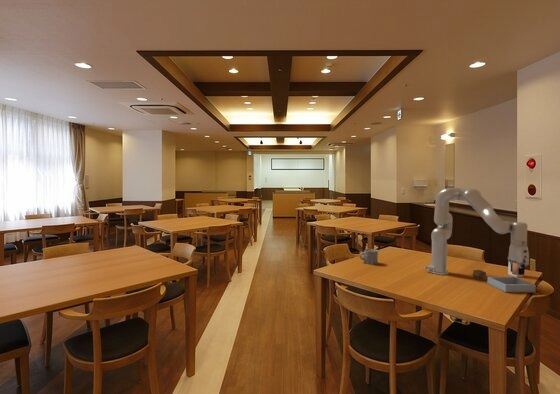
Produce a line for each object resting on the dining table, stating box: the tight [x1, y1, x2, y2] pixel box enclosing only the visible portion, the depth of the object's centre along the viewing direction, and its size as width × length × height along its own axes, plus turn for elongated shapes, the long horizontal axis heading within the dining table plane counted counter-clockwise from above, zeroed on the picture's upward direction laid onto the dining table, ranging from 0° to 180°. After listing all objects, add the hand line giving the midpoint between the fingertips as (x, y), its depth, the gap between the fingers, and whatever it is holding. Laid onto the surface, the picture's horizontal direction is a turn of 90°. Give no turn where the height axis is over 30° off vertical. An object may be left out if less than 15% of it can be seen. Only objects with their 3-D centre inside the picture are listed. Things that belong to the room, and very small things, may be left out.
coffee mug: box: [359, 248, 379, 266], centre depth 233 cm, size 13×10×10 cm
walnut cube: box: [472, 269, 487, 281], centre depth 197 cm, size 5×5×5 cm
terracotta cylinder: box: [512, 262, 524, 277], centre depth 179 cm, size 5×5×7 cm
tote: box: [486, 276, 537, 294], centre depth 180 cm, size 18×15×4 cm
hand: (517, 272), depth 179 cm, fingers closed on terracotta cylinder, 5 cm apart
